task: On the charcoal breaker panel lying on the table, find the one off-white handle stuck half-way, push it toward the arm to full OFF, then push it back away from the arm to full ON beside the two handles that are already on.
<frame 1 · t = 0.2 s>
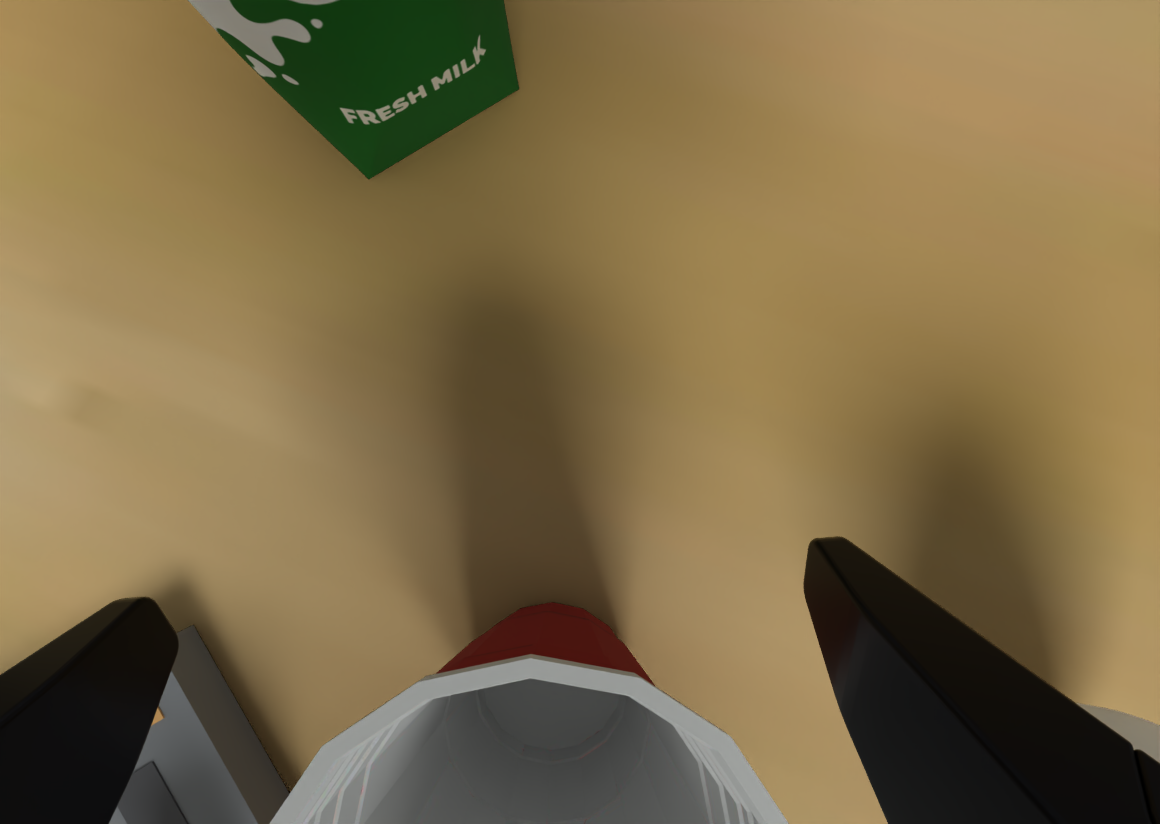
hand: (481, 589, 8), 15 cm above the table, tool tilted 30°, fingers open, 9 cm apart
sauce bottle: (992, 753, 23), on the table
milk carton: (400, 64, 24), on the table
plastic cup: (556, 678, 23), on the table
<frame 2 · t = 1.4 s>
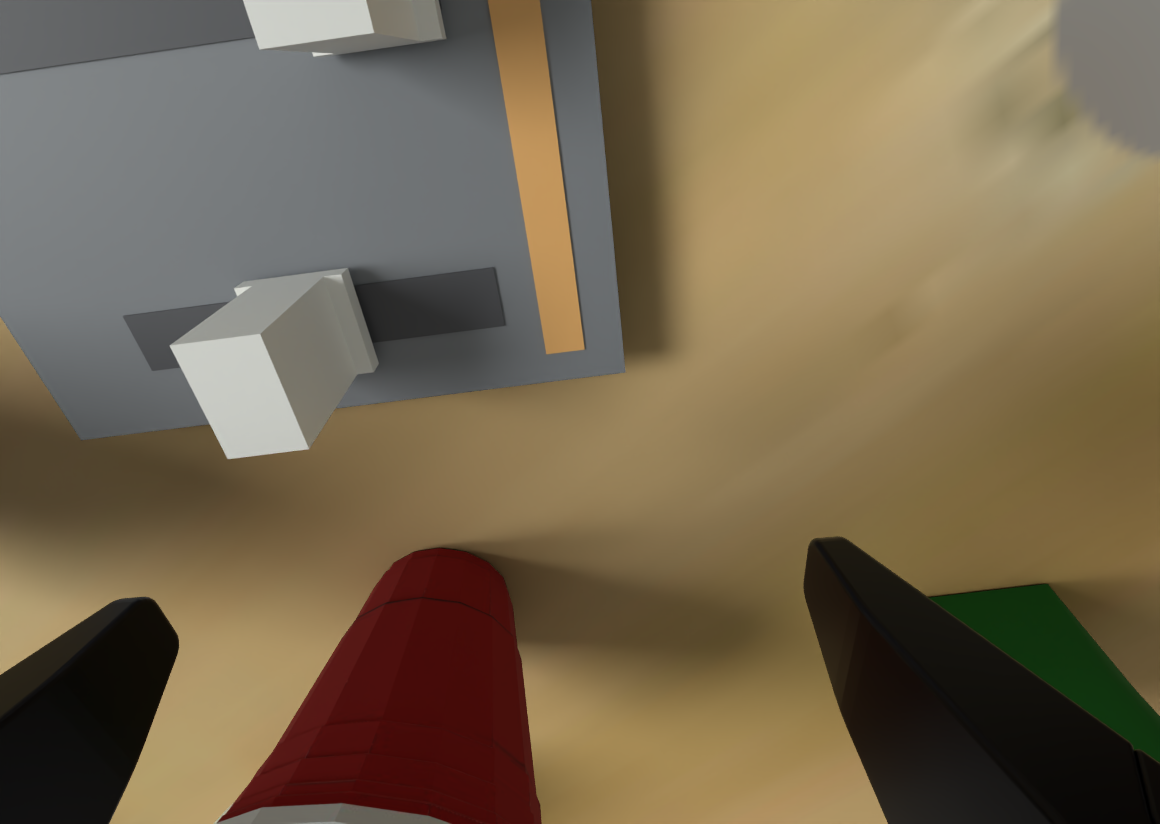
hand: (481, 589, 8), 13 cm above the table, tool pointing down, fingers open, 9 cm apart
milk carton: (951, 637, 29), on the table
breaker panel: (238, 4, 15), on the table
tripped breaker: (283, 357, 16), point 5 cm above the table, slide at 4.0 cm
plastic cup: (441, 592, 27), on the table
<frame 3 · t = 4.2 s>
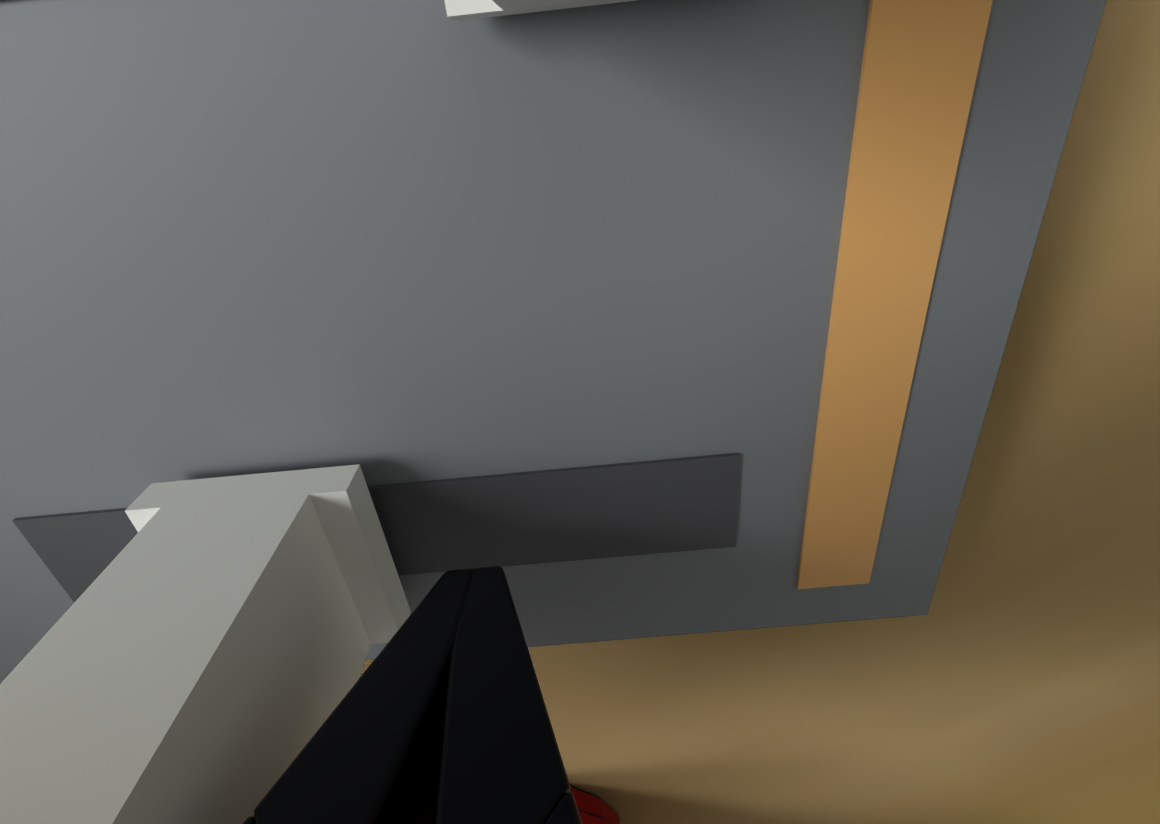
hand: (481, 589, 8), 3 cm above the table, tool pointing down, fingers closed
tripped breaker: (215, 687, 7), point 5 cm above the table, slide at 2.6 cm, touching gripper
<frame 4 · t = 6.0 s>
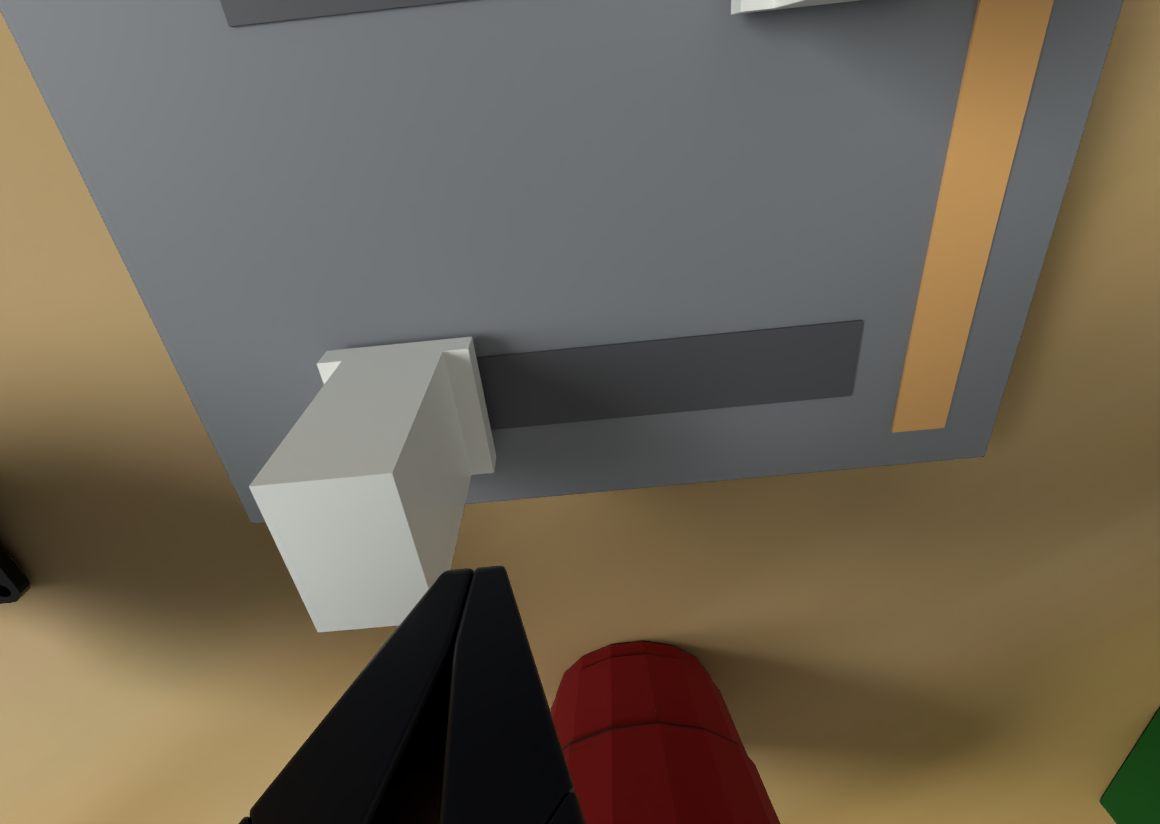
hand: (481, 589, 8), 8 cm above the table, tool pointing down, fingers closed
tripped breaker: (389, 469, 11), point 5 cm above the table, slide at -0.1 cm
plastic cup: (627, 687, 22), on the table
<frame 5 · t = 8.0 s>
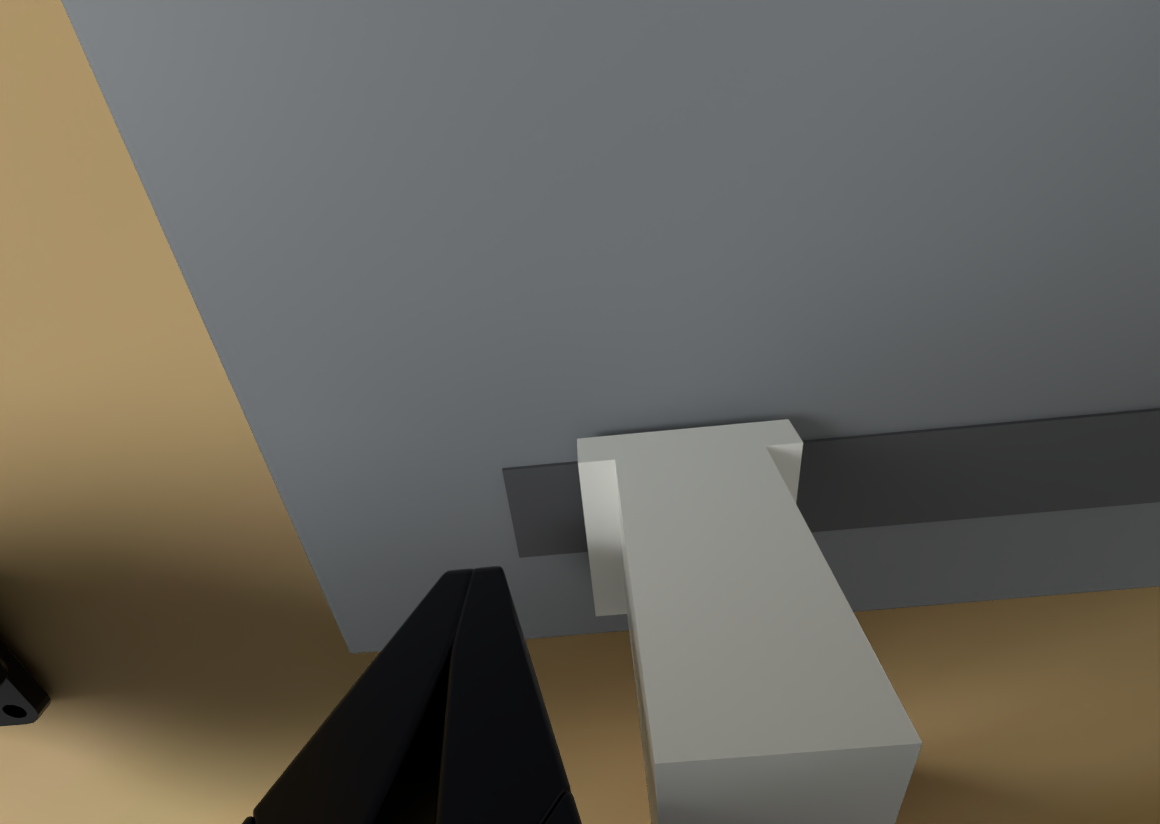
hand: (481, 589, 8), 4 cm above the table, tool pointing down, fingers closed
tripped breaker: (715, 633, 7), point 5 cm above the table, slide at 1.2 cm, touching gripper
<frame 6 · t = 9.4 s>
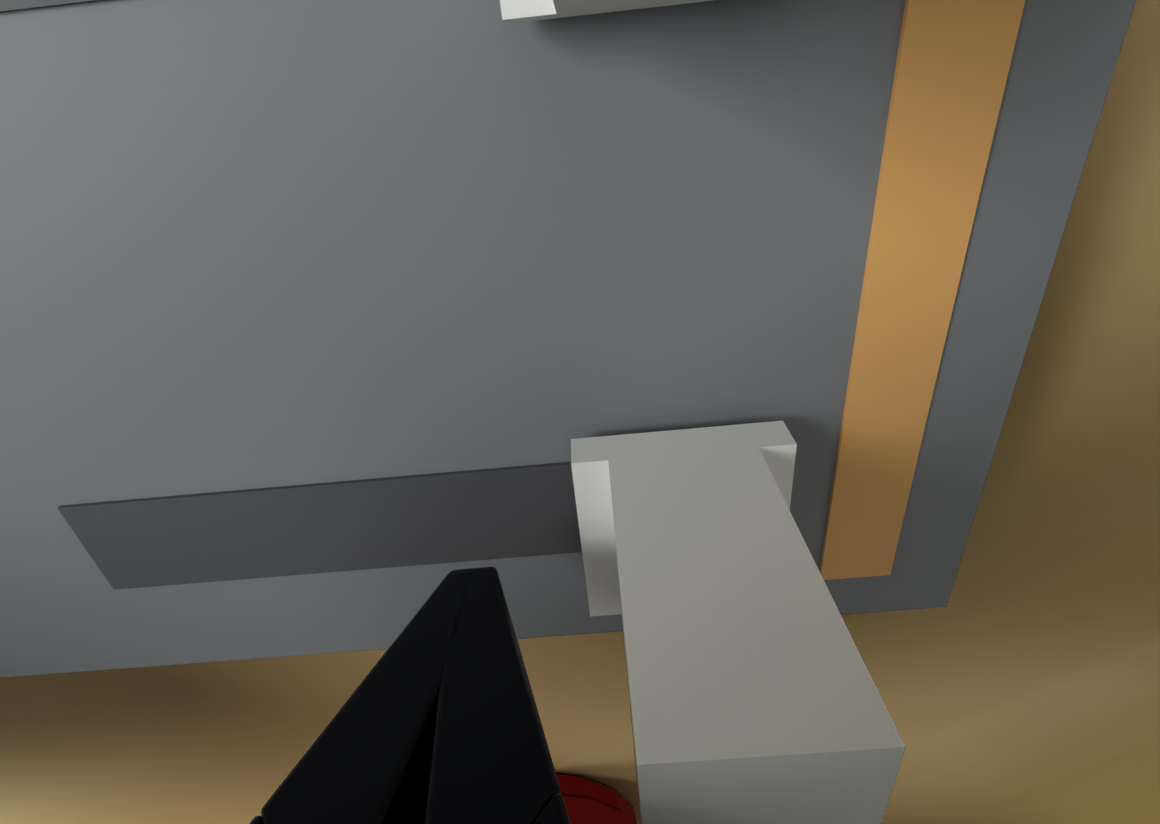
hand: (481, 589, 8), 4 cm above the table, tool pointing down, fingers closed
tripped breaker: (706, 635, 7), point 5 cm above the table, slide at 8.1 cm, touching gripper
plastic cup: (538, 816, 19), on the table
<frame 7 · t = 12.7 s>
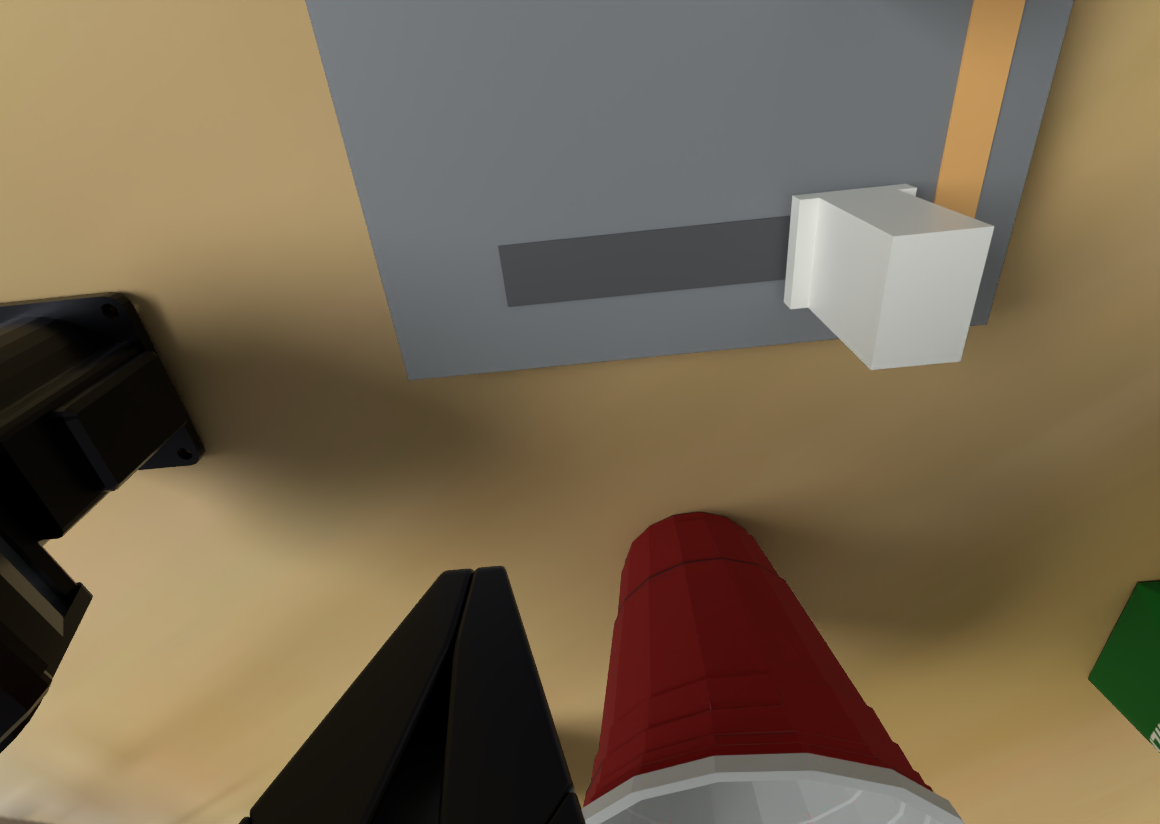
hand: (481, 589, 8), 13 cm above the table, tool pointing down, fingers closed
tripped breaker: (879, 270, 15), point 5 cm above the table, slide at 8.1 cm
plastic cup: (683, 559, 26), on the table
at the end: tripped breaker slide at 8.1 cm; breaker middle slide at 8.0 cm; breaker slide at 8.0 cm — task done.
